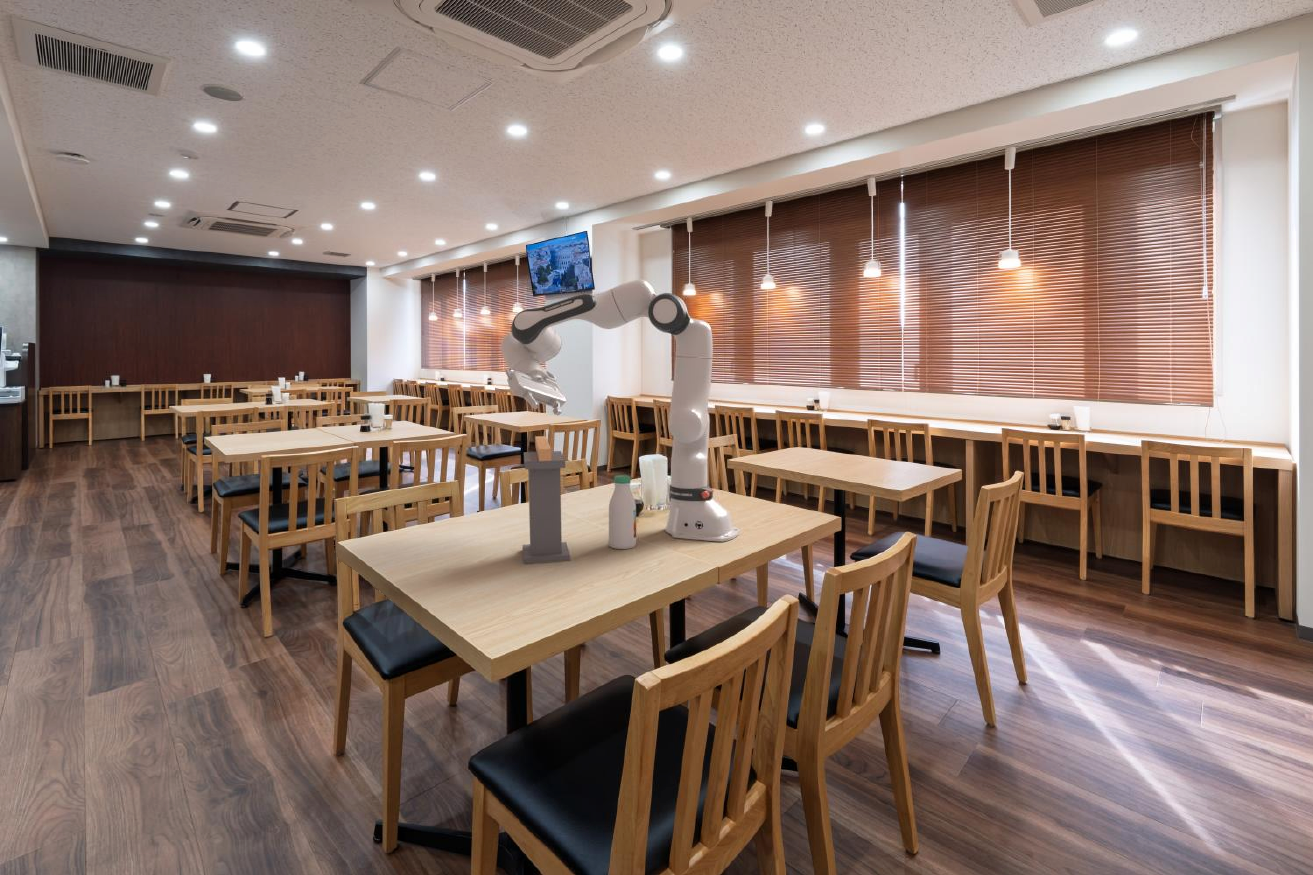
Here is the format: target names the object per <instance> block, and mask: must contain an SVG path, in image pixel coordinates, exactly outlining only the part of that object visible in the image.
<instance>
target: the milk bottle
mask: <svg viewBox="0 0 1313 875" xmlns="http://www.w3.org/2000/svg"><path fill="white" fill-rule="evenodd" d="M631 479H632V478H631V476H630V475H626V474H622V475H621V474H619V475H615V476H614V478H613V484H614V488H613V489H614V491H613V493H612V495H611V498H610V500H609V504H608V545H609V547H610V548H612V549H615V550H629V549H632V548H635V547H636V546H637V505H636V501H635V498H634V495H633V493H632V490H631V487H630V486H631V481H632V480H631Z"/></svg>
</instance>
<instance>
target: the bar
mask: <svg viewBox="0 0 1313 875" xmlns="http://www.w3.org/2000/svg"><path fill="white" fill-rule="evenodd" d="M534 441H535V444H534V445H535V450H536V451H535V452H537V455H538V458H539V461H551V451H552V447H551V446H550V444H549V441H548V438H547V436H546V435H544V436H538V435H537V436H535V437H534Z"/></svg>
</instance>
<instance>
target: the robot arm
mask: <svg viewBox="0 0 1313 875" xmlns="http://www.w3.org/2000/svg"><path fill="white" fill-rule="evenodd" d="M688 310H689V309H688V308H687V304H686V303H685V302H684V300H683V299H682V298H680V297H679V296H678V295H676V294H675V293H669V292H663V293H660V294H657V293H656V292H655V290H654V287H653V286H652V284H650V283H649V282H648V281H647V280H645V279H641V278H640V279H635V280H631V281H627V282H625V283H621V284H619V285H616V286H615V287H612V288H610V289H607V290H605V291H602V292H597V293H592V294H591V293H590V294H589V293H583V294H582V293H581V294H578V295H575V296H572V297H568V298H564V299H562V300H559V301H557V302H554V303H550V304H547V305H544V306H540V307H537V308H535V307H534V308H527V309H523V310H522V311H520V312H518V313H517V314H516V315H515V316H514V318H513V320H512V322H511V327H510V328H511V330H510V332H509V333H507V334H506V335H505V336H504V337H503V338H502V340H501V341H500V342H501V343H500V350H501V354H502V357H503V359H504V361H505V364H506V365H507V368H508V369H506V370H505V374H506V377H507V384H508V387H509V389H510V392H511V393H512V394H513V395H514V396H516V397H519V398H523V399H524V400H525V401H526V402H527V403H528V404H529V405H530V407H531V409H535V410H537V409H538V408H539V407H540V404H542V405H545V406H548V407H551V408H553V409H552V413H553V414H554V415H556V416H560V415H561V414H562V410H561V408H562V407H563V406H564V405H565V404H566V401H567V399H566V396H565V394H564V392H563V390H562V388H561V386H560V385H559V383H557V381H558V380H557V377H556V376H555V375H554V374H552V373H550V372H549V371H548V370H546V369H545V368H544V367H543V366H542V364H545V363H546V362H548V361H550V360H552V359H553V358H555V357H556V356H557V355H558V354H559V353H560V352H561V349H562V345H563V343H562V342H563V341H562V337H561V336H560V335H559V334H558V333H557V332H556V330H555V329H554V328H553V327H554V326H557V325H559V324H563V323H566V322H568V321H572V320H581V321H586V322H589V323H591V324H593V325H595V326H597V327H599V328H601V329H605V330H612V329H616V328H620V327H621V326H622V327H623V326H624V325H626V324H629V323H630V322H632V321H634V320H638V319H640V318H648V319H649V321H650V323H651V324H652V326H653V327H654V328H656V330H658V331H660V332H662V333H665V334H666V333H667V334H670V335H672V336H673V337H674V339H675V357H674V358H675V360H674V371H673V372H674V374H673V386H672V391H671V392H672V393H671V399H670V407H669V413H668V414H669V416H668V430H669V433H670V434H671V436H672V437H673V438H672V439H673V440H672V450H671V457H670V485H669V489H668V490H669V493H668V494H669V495H668V496H669V497H668V498H669V502H670V503H669V511H668V518H667V521H666V522H667V523H666V526H665V532H666V533H668V534H670V535H671V536H672V538H675V539H686V540H696V541H698V540H699V541H709V542H710V541H711V542H721V543H722V542H727V541H731V540H733V539H735V538H736V537H737V536H738V535H739V534H740V529H739V528H738V527H737V526H736V527H735V526H733V522H732V516H731V513H730V512H729V510H728V509H726V508H725V507H724V506H723V505H721V504H720V502H718V501H717V500H716V499H714V497H713V496H714V493H715V492H716V491H715V490H716V489H715V487H714V488H711V487H710V486H709V485H708V459H709V458H708V456H709V445H710V444H709V441H710V440H709V439H710V414H709V412H708V409H709V402H710V401H709V399H710V393H711V386H712V384H711V383H712V382H711V381H712V369H713V358H714V357H713V356H714V355H713V354H714V350H713V349H714V347H713V346H714V344H713V333H712V332H713V331H712V328H711V326H710V324H709V323H708V322H706V321H705V320H701V319H698V318H697V319H696V318H692V317H691V316H690V315H689V311H688Z"/></svg>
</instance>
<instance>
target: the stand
mask: <svg viewBox="0 0 1313 875" xmlns="http://www.w3.org/2000/svg"><path fill="white" fill-rule="evenodd" d="M523 463H524V469H525V470H528V471H527V473H528V474H527V476H528V511H529V512H528V516H529V518H528V519H529V544H522V559H523V560H522V562H523V563H527V564H538V562H542V563H553V562H555V563H556V562H567V561H568V562H570V561H571V553H570V551H569V550H570V549H569V547H568V546H569V545H568V543H567V542H566V541H565V542H564V541H562V495H561V494H562V493H561V492H562V491H561V489H562V487H561V483H562V481H561V469H566V459H565V457H564V455H563V453H562V451H561V450H557V451H556V450H555V451H554V450H553V451H552V450H551V461H539V458H538V455H537V451H526V452H525V451H524V452H523Z"/></svg>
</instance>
